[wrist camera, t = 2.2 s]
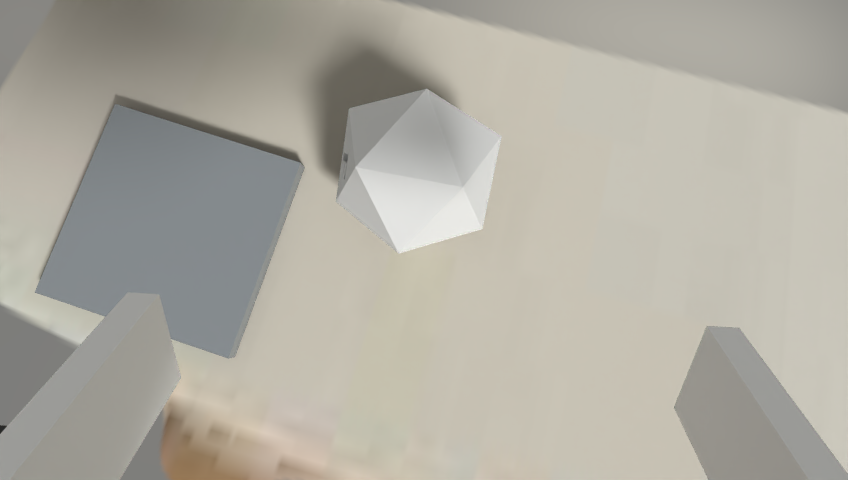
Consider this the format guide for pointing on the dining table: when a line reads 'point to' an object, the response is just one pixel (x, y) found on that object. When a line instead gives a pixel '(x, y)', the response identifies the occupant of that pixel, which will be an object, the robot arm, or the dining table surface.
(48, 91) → the dining table surface
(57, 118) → the dining table surface
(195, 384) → the dining table surface
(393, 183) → the die
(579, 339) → the dining table surface
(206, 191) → the slate board
